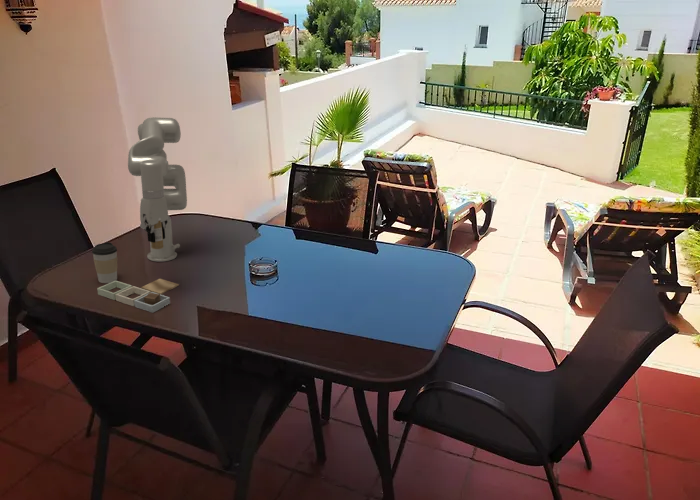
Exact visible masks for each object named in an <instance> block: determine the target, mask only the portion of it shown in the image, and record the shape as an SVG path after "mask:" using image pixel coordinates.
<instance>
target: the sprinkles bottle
mask: <svg viewBox="0 0 700 500" xmlns="http://www.w3.org/2000/svg"><path fill="white" fill-rule="evenodd" d="M159 220H160V221H161V218H159V219H158V223H157V224H155V225H154V231H153V232H154V233H155V242H154V243H153V242H151V245H152V246H151V248H153V249H161V248H163V247H164V246H163V233H162V224H161V222H160V221H159ZM151 248H150V249H151Z"/></svg>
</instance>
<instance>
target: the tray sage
mask: <svg viewBox="0 0 700 500" xmlns="http://www.w3.org/2000/svg"><path fill="white" fill-rule="evenodd" d="M131 287H133V285H131V284H129V283H125V282H122V281H118V280H116V281H113V282H111V283H105V284H104V285H102V286H99V287H97V288H96V289H97V295H98V296H101V297H103V298H104V297H105V298H108V299H110V300H113V301H115V300H116V294H117V293H120V292H122V291H124V290H126V289H128V288H131ZM116 288H117V289H120V290H116V291H115V292H112V290H113V289H116Z"/></svg>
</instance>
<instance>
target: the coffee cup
mask: <svg viewBox="0 0 700 500" xmlns="http://www.w3.org/2000/svg"><path fill="white" fill-rule="evenodd" d="M91 249H92V250H91V251H92V252H91V253H92V255H93V262H94V268H95V272H96V274H97V279H98V282H99V283H102V284H109V283H111V282H113V281H118V255H117V254H118V253H117V252H118V249H117V246H116V245H113V243H112V242H109V241H108V242H103V243H98V244H96V245H95V246H93V248H91Z"/></svg>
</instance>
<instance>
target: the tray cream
mask: <svg viewBox="0 0 700 500" xmlns="http://www.w3.org/2000/svg"><path fill="white" fill-rule="evenodd" d="M149 293H151V292H150V291H148V290H144V289H141V287H137V286H134V285H132V287H131V288H128V289H126V290H124V291H122V292H120V293H117V294H116V301H115V302H120V303H122V304H125V305H128V306H131V307H135V300H137V299H139V298H141V297H143V296H145V295H147V294H149ZM133 294H136V295H139V296H136V297H134V298H130V297H129V296H131V295H133Z"/></svg>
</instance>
